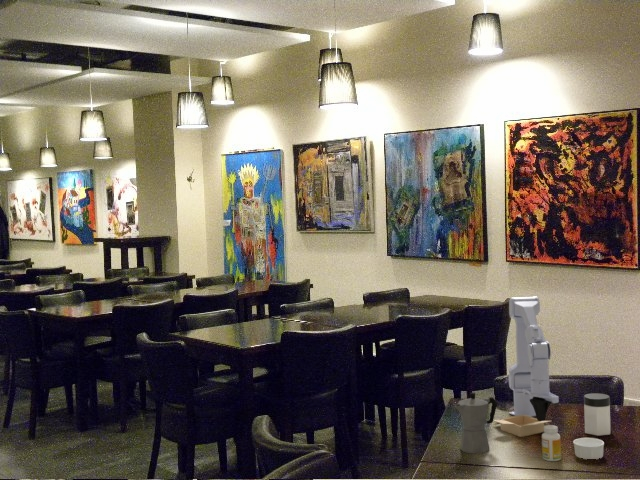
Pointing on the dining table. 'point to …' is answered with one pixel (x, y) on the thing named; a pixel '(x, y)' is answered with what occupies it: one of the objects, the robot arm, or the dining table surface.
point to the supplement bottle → (551, 443)
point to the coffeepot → (475, 423)
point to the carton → (519, 428)
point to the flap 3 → (536, 423)
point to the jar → (597, 414)
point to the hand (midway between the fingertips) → (541, 420)
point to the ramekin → (588, 448)
